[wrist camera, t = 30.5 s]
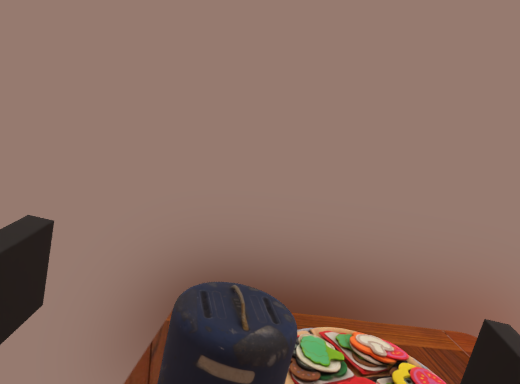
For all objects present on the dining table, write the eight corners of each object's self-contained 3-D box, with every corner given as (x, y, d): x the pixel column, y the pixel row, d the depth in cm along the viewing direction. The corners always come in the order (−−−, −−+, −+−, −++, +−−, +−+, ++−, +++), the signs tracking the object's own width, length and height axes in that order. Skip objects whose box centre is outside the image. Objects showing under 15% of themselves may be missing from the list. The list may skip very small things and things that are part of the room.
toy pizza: (362, 513, 44) (374, 475, 43) (227, 345, 66) (234, 318, 65) (513, 443, 59) (525, 414, 58) (363, 326, 81) (370, 304, 80)
